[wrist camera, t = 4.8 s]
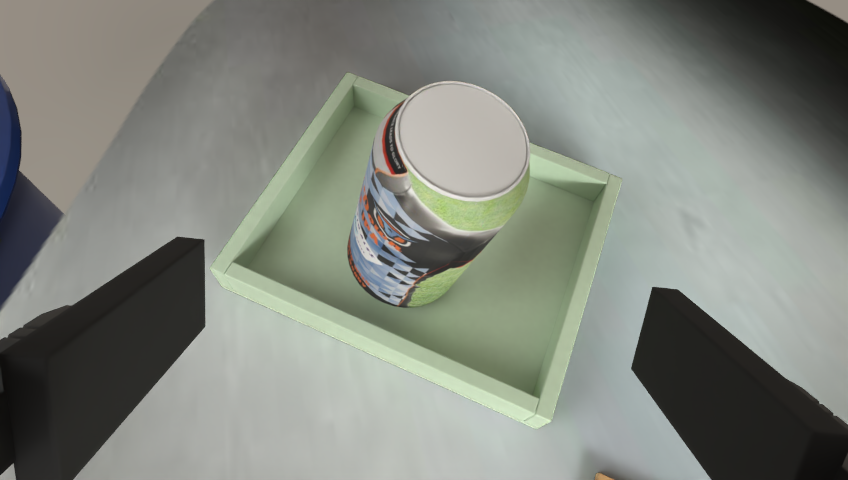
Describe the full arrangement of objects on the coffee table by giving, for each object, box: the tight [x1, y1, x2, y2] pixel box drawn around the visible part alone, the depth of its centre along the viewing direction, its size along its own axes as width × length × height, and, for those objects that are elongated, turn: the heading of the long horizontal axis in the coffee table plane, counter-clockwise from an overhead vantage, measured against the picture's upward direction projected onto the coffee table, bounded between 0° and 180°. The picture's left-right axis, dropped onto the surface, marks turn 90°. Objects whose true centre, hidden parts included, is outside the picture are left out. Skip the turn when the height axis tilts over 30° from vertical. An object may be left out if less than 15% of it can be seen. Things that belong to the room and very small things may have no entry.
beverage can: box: [347, 81, 530, 308], centre depth 23 cm, size 6×7×12 cm
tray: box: [210, 72, 622, 429], centre depth 29 cm, size 18×15×2 cm
